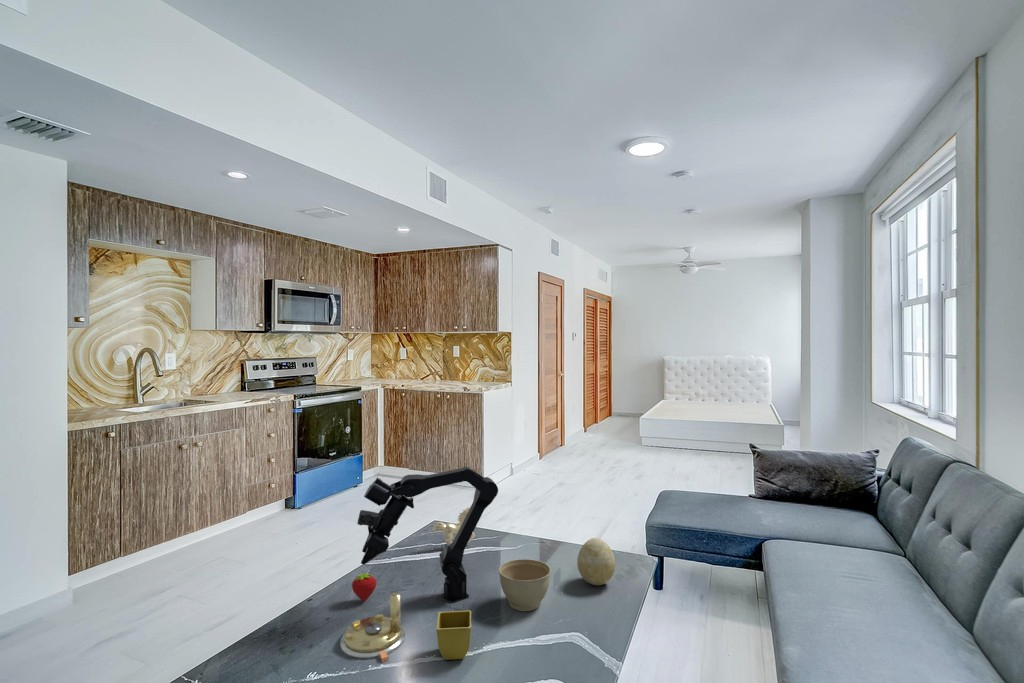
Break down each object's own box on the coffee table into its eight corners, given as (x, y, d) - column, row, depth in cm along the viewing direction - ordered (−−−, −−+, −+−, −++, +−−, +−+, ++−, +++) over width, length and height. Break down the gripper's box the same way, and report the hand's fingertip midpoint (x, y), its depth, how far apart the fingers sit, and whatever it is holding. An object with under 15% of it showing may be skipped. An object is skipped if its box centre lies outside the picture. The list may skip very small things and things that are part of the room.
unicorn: (433, 553, 197) (433, 509, 197) (431, 549, 201) (431, 506, 201) (482, 546, 204) (482, 503, 204) (479, 542, 208) (479, 500, 208)
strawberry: (376, 604, 157) (376, 572, 157) (350, 607, 155) (350, 574, 155) (377, 595, 163) (377, 564, 163) (352, 598, 161) (352, 566, 161)
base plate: (390, 617, 150) (390, 605, 150) (415, 644, 136) (415, 630, 136) (332, 636, 140) (332, 623, 140) (352, 667, 126) (352, 653, 126)
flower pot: (438, 645, 135) (438, 611, 135) (471, 643, 136) (471, 609, 136) (436, 665, 126) (436, 629, 127) (471, 663, 127) (471, 627, 127)
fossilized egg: (573, 588, 167) (572, 542, 168) (582, 572, 179) (582, 530, 179) (611, 595, 163) (611, 548, 163) (618, 578, 174) (618, 534, 175)
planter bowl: (558, 597, 161) (558, 563, 161) (539, 622, 146) (539, 584, 146) (512, 588, 168) (512, 555, 168) (490, 610, 153) (489, 574, 153)
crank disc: (336, 653, 130) (336, 609, 130) (354, 622, 145) (354, 582, 145) (394, 652, 130) (394, 609, 130) (406, 621, 145) (406, 582, 145)
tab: (378, 656, 130) (378, 652, 130) (384, 654, 131) (385, 650, 131) (382, 662, 128) (382, 658, 128) (388, 660, 128) (388, 656, 129)
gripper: (370, 492, 165) (342, 534, 163) (368, 509, 147) (337, 557, 145) (399, 508, 167) (372, 550, 165) (401, 527, 149) (370, 575, 147)
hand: (362, 557), depth 155 cm, fingers open, 9 cm apart
